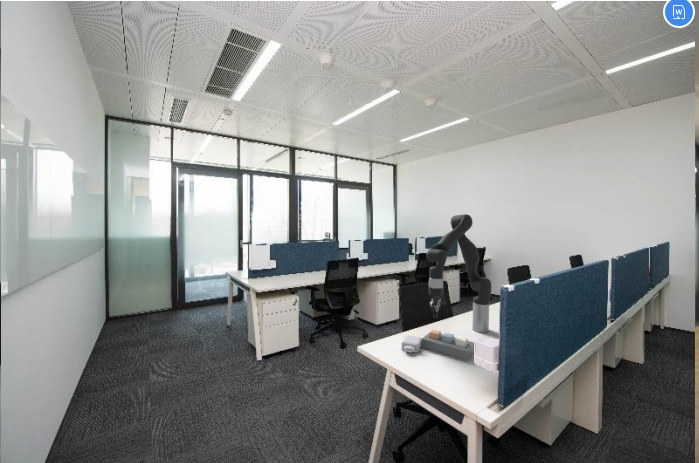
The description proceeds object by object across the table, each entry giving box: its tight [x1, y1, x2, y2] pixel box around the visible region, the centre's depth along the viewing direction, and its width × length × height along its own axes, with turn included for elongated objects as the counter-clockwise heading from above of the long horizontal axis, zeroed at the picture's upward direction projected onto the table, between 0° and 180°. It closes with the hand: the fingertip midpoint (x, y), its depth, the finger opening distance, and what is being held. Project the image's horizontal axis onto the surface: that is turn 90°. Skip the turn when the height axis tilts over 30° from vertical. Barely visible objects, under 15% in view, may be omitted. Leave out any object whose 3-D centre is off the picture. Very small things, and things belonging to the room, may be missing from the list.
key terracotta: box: [429, 329, 442, 340], centre depth 155 cm, size 5×5×5 cm
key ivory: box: [455, 335, 469, 348], centre depth 146 cm, size 5×5×5 cm
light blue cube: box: [442, 332, 455, 344], centre depth 151 cm, size 5×5×5 cm
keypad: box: [420, 332, 475, 362], centre depth 151 cm, size 13×24×5 cm, turn 51°
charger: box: [401, 334, 423, 354], centre depth 151 cm, size 5×9×15 cm
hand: (435, 317), depth 155 cm, fingers closed
